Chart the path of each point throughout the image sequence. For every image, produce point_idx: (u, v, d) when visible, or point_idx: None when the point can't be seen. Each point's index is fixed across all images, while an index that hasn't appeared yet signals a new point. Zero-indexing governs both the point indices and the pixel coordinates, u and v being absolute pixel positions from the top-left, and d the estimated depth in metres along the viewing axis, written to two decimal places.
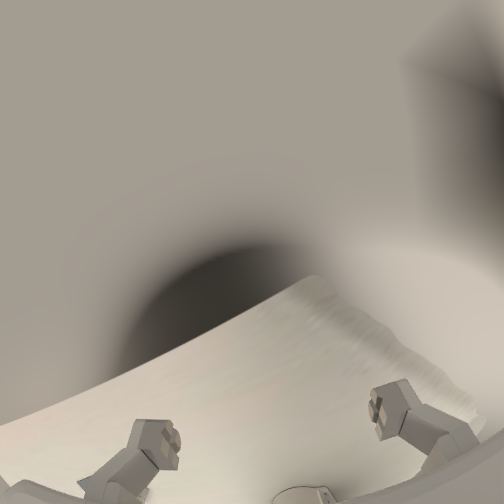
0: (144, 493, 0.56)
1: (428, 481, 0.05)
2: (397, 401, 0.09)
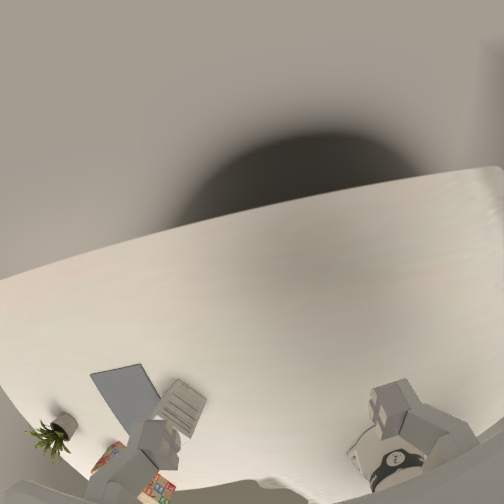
0: (201, 406, 0.51)
1: (428, 481, 0.05)
2: (397, 401, 0.09)
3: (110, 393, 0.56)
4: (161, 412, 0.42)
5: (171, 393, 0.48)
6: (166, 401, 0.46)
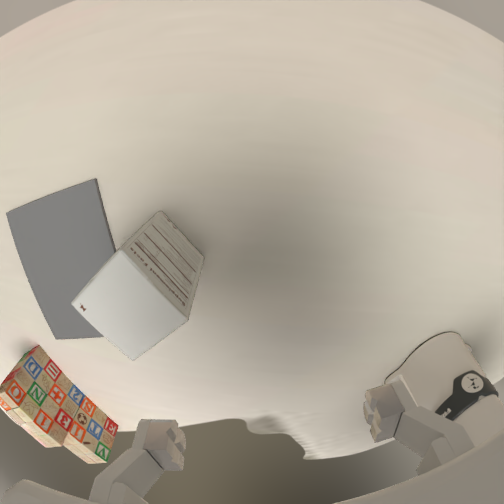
0: (199, 264, 0.30)
1: (428, 481, 0.05)
2: (392, 403, 0.09)
3: (32, 246, 0.30)
4: (129, 247, 0.20)
5: (149, 224, 0.25)
6: (140, 232, 0.23)
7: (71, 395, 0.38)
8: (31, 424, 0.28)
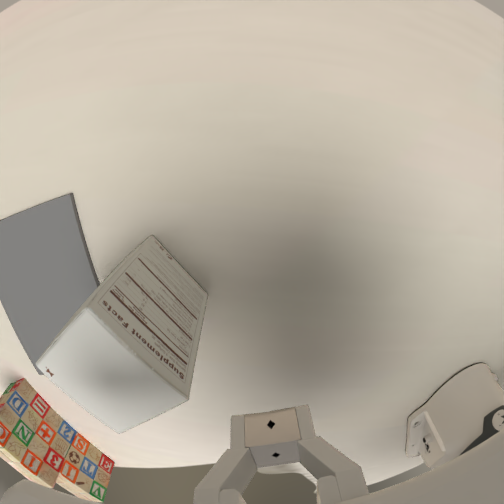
0: (201, 306, 0.23)
1: (428, 481, 0.05)
2: (289, 429, 0.09)
3: (5, 271, 0.24)
4: (101, 301, 0.13)
5: (134, 257, 0.19)
6: (120, 273, 0.16)
7: (62, 432, 0.31)
8: (19, 465, 0.20)
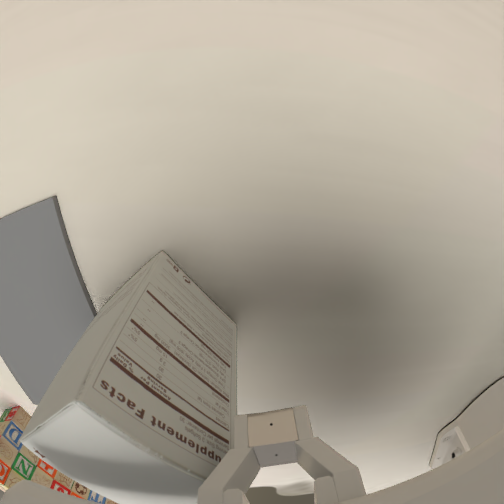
0: (232, 344, 0.17)
1: (428, 481, 0.05)
2: (286, 429, 0.09)
3: None
4: (98, 383, 0.07)
5: (142, 290, 0.13)
6: (123, 322, 0.10)
7: None
8: None
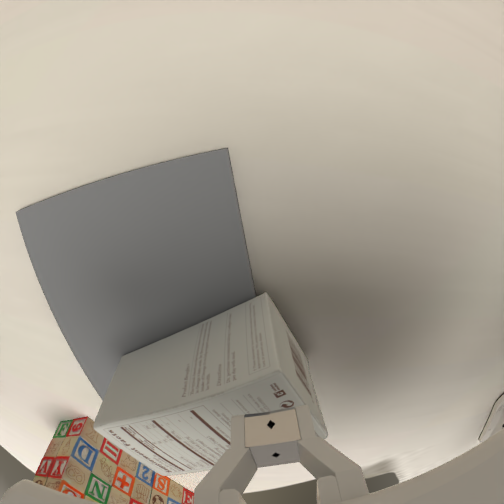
0: None
1: (428, 481, 0.05)
2: (289, 429, 0.09)
3: (69, 273, 0.18)
4: (107, 429, 0.13)
5: (185, 408, 0.13)
6: (144, 419, 0.13)
7: (140, 474, 0.25)
8: None
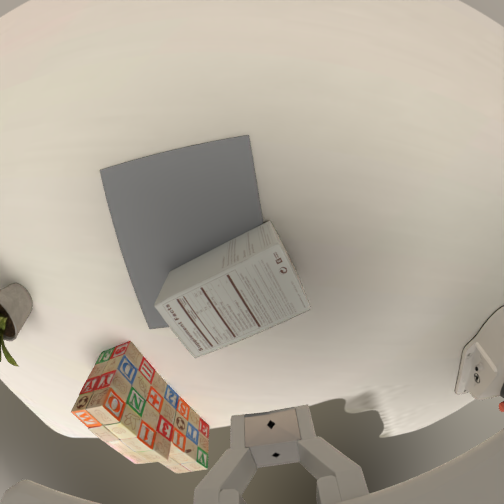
0: (282, 318, 0.26)
1: (428, 481, 0.05)
2: (289, 429, 0.09)
3: (139, 211, 0.29)
4: (165, 304, 0.25)
5: (223, 274, 0.24)
6: (195, 287, 0.25)
7: (167, 397, 0.37)
8: (131, 441, 0.27)
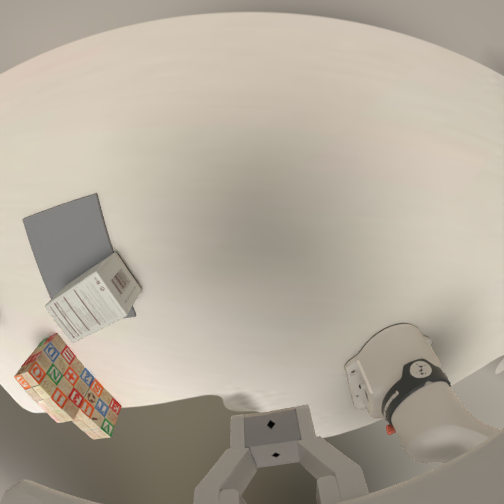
0: (111, 320, 0.35)
1: (428, 481, 0.05)
2: (289, 429, 0.09)
3: (45, 246, 0.39)
4: (49, 306, 0.34)
5: (72, 289, 0.34)
6: (61, 296, 0.34)
7: (83, 376, 0.47)
8: (48, 401, 0.36)
